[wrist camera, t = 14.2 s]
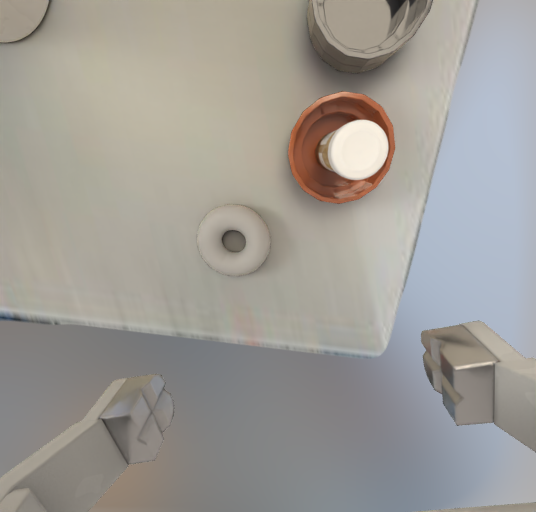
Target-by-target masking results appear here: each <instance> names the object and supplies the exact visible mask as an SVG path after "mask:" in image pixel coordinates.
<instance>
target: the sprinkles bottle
mask: <svg viewBox="0 0 536 512" xmlns="http://www.w3.org/2000/svg"><path fill="white" fill-rule="evenodd" d="M315 154H316V159H317V162H318V164H319V165H320V166H321V167H322V168H324V169H325V170H328V171H333V172H336V173H337V174H338V175H340V176H342V177H344V178H347V179H351V180H362V179H366V178H368V177H370V176H372V175H374V174H375V173H376V172H377V171H378V170H379V169H380V168H381V167H382V166H383V164H384V162H385V160H386V158H387V155H388V139H387V136H386V134H385V132H384V131H383V129H382V128H381V127H380V126H379V125H378V124H376V123H374V122H372V121H369V120H356V121H352V122H349V123H347V124H345V125H343V126H342V127H340V128H339V129H338V130H336V131H333V132H331V133H328V134H326V135H325V136H323V137H322V138H321V140H320V141H319V142H318V144H317V146H316V150H315Z"/></svg>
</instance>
